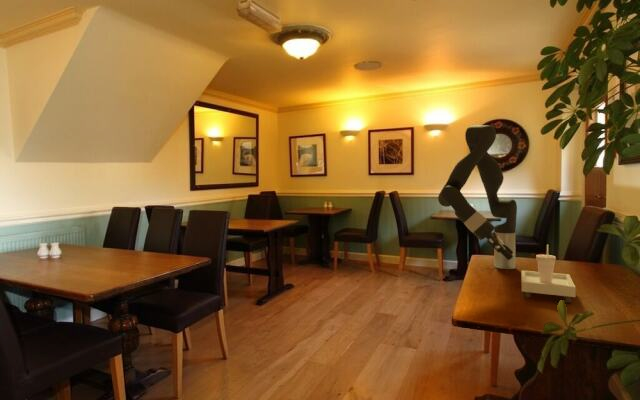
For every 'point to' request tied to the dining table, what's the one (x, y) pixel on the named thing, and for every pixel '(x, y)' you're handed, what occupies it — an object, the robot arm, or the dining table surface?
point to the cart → (548, 285)
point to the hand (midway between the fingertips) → (511, 256)
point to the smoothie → (545, 267)
